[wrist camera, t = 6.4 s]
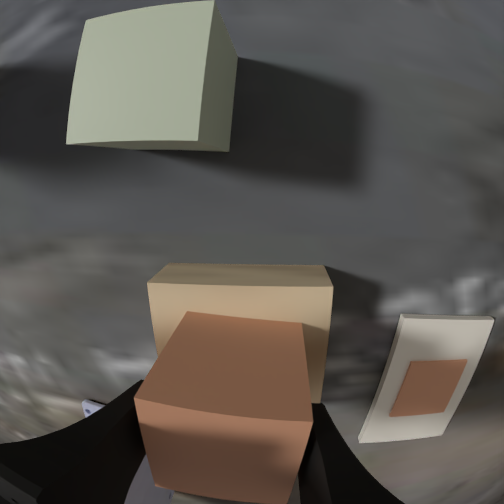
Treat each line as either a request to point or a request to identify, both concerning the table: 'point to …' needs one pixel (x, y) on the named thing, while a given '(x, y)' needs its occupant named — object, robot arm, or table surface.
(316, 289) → the birch block
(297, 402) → the terracotta block
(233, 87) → the sage green block
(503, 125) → the table surface
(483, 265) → the table surface
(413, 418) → the card
